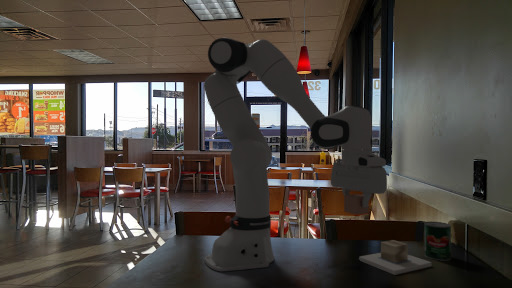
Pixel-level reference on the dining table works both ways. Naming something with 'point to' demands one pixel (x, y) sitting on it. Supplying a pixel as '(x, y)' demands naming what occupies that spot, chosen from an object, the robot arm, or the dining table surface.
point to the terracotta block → (354, 204)
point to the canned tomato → (437, 240)
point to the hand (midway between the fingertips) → (356, 205)
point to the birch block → (394, 251)
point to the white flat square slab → (392, 267)
